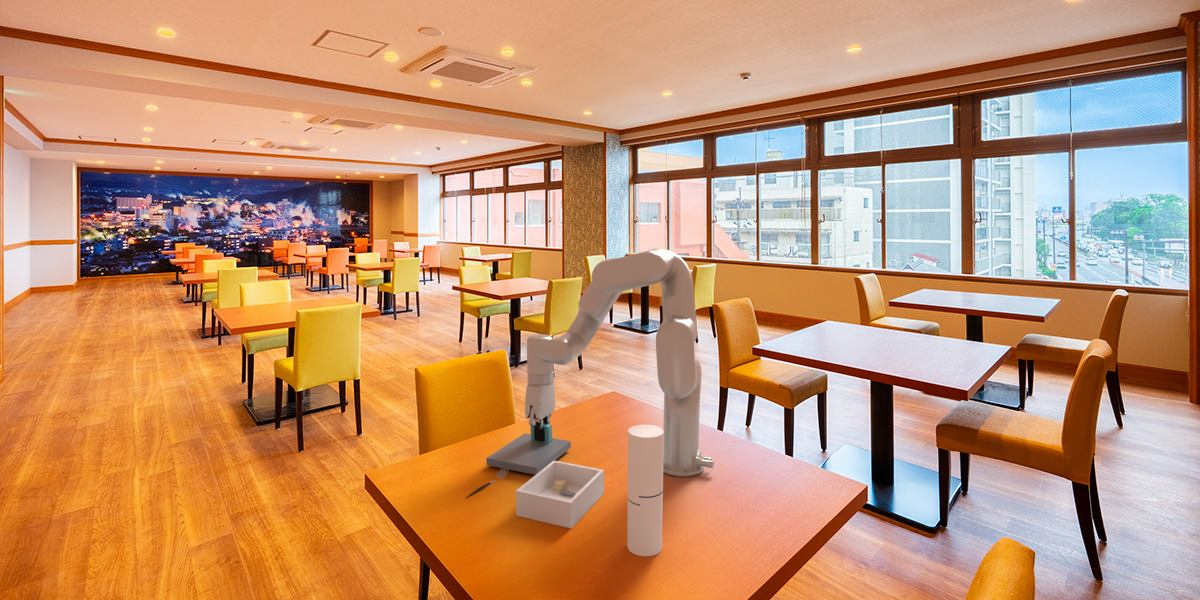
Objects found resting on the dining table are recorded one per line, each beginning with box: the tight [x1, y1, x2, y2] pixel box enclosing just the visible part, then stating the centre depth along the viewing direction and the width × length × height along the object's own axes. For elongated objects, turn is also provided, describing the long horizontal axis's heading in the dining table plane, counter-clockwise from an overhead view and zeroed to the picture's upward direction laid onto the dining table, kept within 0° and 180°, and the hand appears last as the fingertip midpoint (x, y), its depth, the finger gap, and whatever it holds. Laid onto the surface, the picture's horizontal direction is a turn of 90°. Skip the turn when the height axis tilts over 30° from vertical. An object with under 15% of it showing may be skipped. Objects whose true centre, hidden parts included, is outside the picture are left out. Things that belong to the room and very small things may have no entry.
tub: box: [515, 460, 605, 530], centre depth 138 cm, size 14×18×6 cm
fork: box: [465, 467, 509, 499], centre depth 148 cm, size 3×16×2 cm, turn 152°
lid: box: [486, 424, 572, 476], centre depth 163 cm, size 16×20×7 cm
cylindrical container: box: [626, 424, 664, 557], centre depth 118 cm, size 7×7×25 cm
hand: (541, 439), depth 169 cm, fingers closed on lid
